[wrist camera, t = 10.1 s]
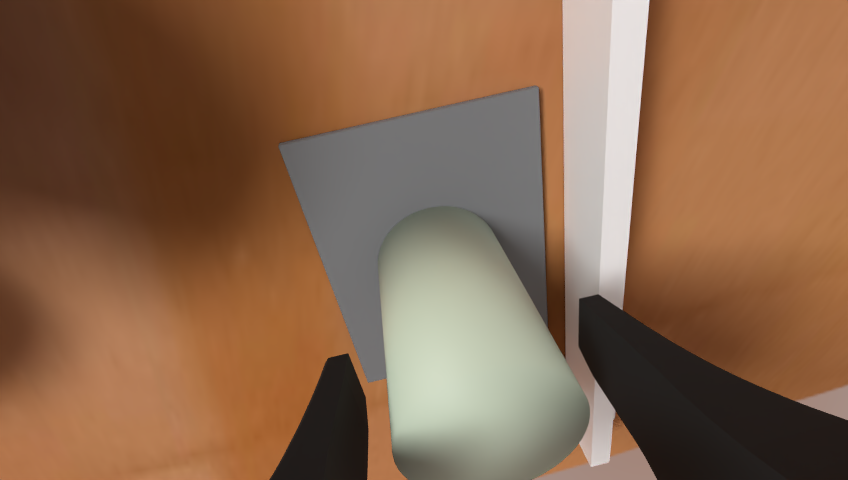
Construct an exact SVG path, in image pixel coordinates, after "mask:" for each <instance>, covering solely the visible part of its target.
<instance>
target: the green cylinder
mask: <svg viewBox="0 0 848 480" xmlns="http://www.w3.org/2000/svg"><path fill="white" fill-rule="evenodd" d="M378 274H379V287H380V299H381V312H382V325H383V338H384V351H385V364H386V376H387V389H388V402H389V415H390V428H391V441H392V453H393V458H394V462H395V464H396V466H397V468H398V469H399V471H400V472H401V473H402V474H403V475H404V476H405V477H406V478H407V479H408V480H532V479H534V478H536V477H538V476H540V475H542V474H544V473H546V472H547V471H549V470H550V469H552V468H553V467H555V466H556V465H557V464H559V463H560V462H561V461H563V460H564V459H565V458H566V457H567V456H568V455H569V454H570V453H571V452H572V451H573V450H574V449H575V448H576V447H577V445H578V444H579V442H580V441H581V440H582V438H583V436H584V434H585V432H586V430H587V427H588V424H589V419H590V406H589V402H588V399H587V397H586V395H585V393H584V391H583V390H582V388H581V386H580V384H579V383H578V381H577V379H576V377H575V376H574V374H573V372H572V370H571V369H570V367H569V365H568V363H567V362H566V360H565V358H564V356H563V354H562V353H561V351H560V349H559V347H558V346H557V344H556V342H555V340H554V339H553V337H552V335H551V333H550V332H549V330H548V328H547V326H546V324H545V323H544V321H543V319H542V317H541V316H540V314H539V312H538V310H537V309H536V307H535V305H534V303H533V302H532V300H531V298H530V296H529V295H528V293H527V291H526V289H525V287H524V286H523V284H522V282H521V280H520V279H519V277H518V275H517V273H516V272H515V270H514V268H513V266H512V265H511V263H510V261H509V259H508V258H507V256H506V254H505V252H504V250H503V249H502V247H501V245H500V243H499V242H498V240H497V238H496V236H495V235H494V233H493V231H492V229H491V228H490V227H489V225H488V224H487V223H486V222H485V221H484V220H483V219H482V218H480V217H479V216H477V215H476V214H474V213H472V212H470V211H468V210H465V209H462V208H457V207H450V206H439V207H431V208H427V209H423V210H420V211H417V212H415V213H413V214H411V215H409V216H407V217H406V218H404V219H403V220H401V221H400V222H399V223H397V224H396V225H395V226H394V227H393V228H392V229H391V231H390V232H389V233H388V234H387V236H386V237H385V239H384V241H383V243H382V245H381V248H380V251H379V255H378Z"/></svg>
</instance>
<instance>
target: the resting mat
mask: <svg viewBox="0 0 848 480" xmlns="http://www.w3.org/2000/svg"><path fill="white" fill-rule="evenodd" d="M278 147H279V149H280V152H281V155H282V157H283V160H284V163H285V165H286V168H287V170H288V173H289V176H290V178H291V181H292V184H293V186H294V189H295V191H296V194H297V197H298V199H299V202H300V205H301V207H302V210H303V212H304V215H305V218H306V220H307V223H308V226H309V228H310V231H311V234H312V236H313V239H314V241H315V244H316V247H317V249H318V252H319V255H320V257H321V260H322V262H323V265H324V268H325V270H326V273H327V276H328V278H329V281H330V283H331V286H332V289H333V291H334V294H335V297H336V299H337V302H338V305H339V307H340V310H341V312H342V315H343V318H344V320H345V323H346V326H347V328H348V331H349V333H350V336H351V339H352V341H353V344H354V347H355V349H356V352H357V355H358V357H359V360H360V362H361V365H362V368H363V370H364V373H365V376H366V378H367V381H368V383H369V382H373V381H377V380H381V379H386V378H387V376H386V364H385V351H384V338H383V325H382V312H381V299H380V287H379V274H378V255H379V251H380V248H381V245H382V243H383V241H384V239H385V237H386V236H387V234H388V233H389V232H390V231H391V229H392V228H393V227H394V226H395V225H396V224H397V223H399V222H400V221H401V220H403V219H404V218H406V217H407V216H409V215H411V214H413V213H415V212H417V211H420V210H423V209H427V208H431V207H439V206H450V207H457V208H462V209H465V210H468V211H470V212H472V213H474V214H476V215H477V216H479V217H480V218H482V219H483V220H484V221H485V222H486V223H487V224H488V225H489V227H490V228H491V229H492V231H493V233H494V235H495V236H496V238H497V240H498V242H499V243H500V245H501V247H502V249H503V250H504V252H505V254H506V256H507V258H508V259H509V261H510V263H511V265H512V266H513V268H514V270H515V272H516V273H517V275H518V277H519V279H520V280H521V282H522V284H523V286H524V287H525V289H526V291H527V293H528V295H529V296H530V298H531V300H532V302H533V303H534V305H535V307H536V309H537V310H538V312H539V314H540V316H541V317H542V319H543V321H544V323H545V324H546V326H547V328H548V319H547V293H546V266H545V240H544V214H543V188H542V162H541V136H540V109H539V87H537V86H531V87H527V88H522V89H518V90H513V91H509V92H505V93H500V94H496V95H491V96H487V97H482V98H478V99H474V100H469V101H465V102H460V103H456V104H451V105H447V106H442V107H438V108H434V109H429V110H425V111H420V112H416V113H411V114H407V115H403V116H398V117H394V118H389V119H385V120H380V121H376V122H372V123H367V124H363V125H358V126H354V127H349V128H345V129H340V130H336V131H332V132H327V133H323V134H318V135H314V136H309V137H305V138H301V139H296V140H292V141H287V142H283V143H279V145H278Z"/></svg>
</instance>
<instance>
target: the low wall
mask: <svg viewBox="0 0 848 480" xmlns="http://www.w3.org/2000/svg"><path fill="white" fill-rule="evenodd" d="M648 11H649V0H563V103H564V223H565V344H566V362H567V363H568V365H569V367H570V369H571V370H572V372H573V374H574V376H575V377H576V379H577V381H578V383H579V384H580V386H581V388H582V390H583V391H584V393H585V395H586V397H587V399H588V402H589V406H590V419H589V424H588V427H587V430H586V432H585V434H584V436H583V438H582V440H581V441H580V442H579V444H580V446H581V448H582V450H583V452H584V454H585V456H586V458H587V460H588V462H589V464H590V466H591V467H592V466H596V465H600V464H604V463H608V462H609V460H610V450H611V438H612V426H613V419H615V409H614V408H613V406H612V405H611V403H610V402H609V400H608V398H607V397H606V395H605V394H604V392H603V391H602V389H601V388H600V386H599V385H598V383H597V381H596V380H595V378H594V377H593V375H592V373H591V371H590V369H589V367H588V365H587V363H586V361H585V359H584V357H583V355H582V353H581V351H580V349H579V347H578V333H579V299H580V298H584V297H588V296H593V295H597V294H599V295H600V296H602V297H603V298H605V299H606V300H608V301H609V302H611V303H612V304H614V305H615V306H617V307H618V308H620V309H621V310H623V300H624V288H625V276H626V265H627V253H628V242H629V230H630V219H631V207H632V196H633V184H634V173H635V161H636V150H637V138H638V126H639V115H640V103H641V92H642V80H643V69H644V57H645V46H646V34H647V23H648Z"/></svg>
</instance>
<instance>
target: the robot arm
mask: <svg viewBox="0 0 848 480" xmlns="http://www.w3.org/2000/svg"><path fill="white" fill-rule="evenodd" d="M578 347H579V349H580V351H581V353H582V355H583V357H584V359H585V361H586V363H587V365H588V367H589V369H590V371H591V373H592V375H593V377H594V378H595V380H596V381H597V383H598V385H599V386H600V388H601V389H602V391H603V392H604V394H605V395H606V397H607V398H608V400H609V402H610V403H611V405H612V406H613V408H614V409H615V411H616V412H617V414H618V415H619V417H620V418H621V420H622V421H623V423H624V424H625V426H626V427H627V429H628V430H629V432H630V433H631V435H632V436H633V438H634V439H635V441H636V443H637V444H638V446H639V448H640V449H641V451H642V452H643V454H644V456H645V457H646V459H647V461H648V463H649V465H650V467H651V469H652V471H653V472H654V474H655V476H656V478H657V480H848V420H845V419H842V418H840V417H837V416H834V415H831V414H828V413H825V412H823V411H820V410H817V409H814V408H811V407H809V406H806V405H803V404H801V403H798V402H796V401H793V400H791V399H788V398H786V397H783V396H781V395H778V394H776V393H774V392H771V391H769V390H766V389H764V388H762V387H759V386H757V385H755V384H752V383H750V382H748V381H746V380H744V379H741V378H739V377H737V376H735V375H733V374H731V373H729V372H727V371H725V370H723V369H721V368H719V367H717V366H715V365H713V364H711V363H709V362H707V361H705V360H703V359H701V358H699V357H698V356H696V355H694V354H692V353H690V352H689V351H687V350H685V349H683V348H681V347H680V346H678V345H676V344H675V343H673V342H671V341H670V340H668V339H666V338H665V337H663V336H661V335H660V334H658V333H657V332H655V331H653V330H652V329H650V328H649V327H647V326H646V325H644V324H642V323H641V322H639V321H638V320H636V319H635V318H633V317H632V316H630V315H629V314H627V313H626V312H624V311H623V310H621V309H620V308H618V307H617V306H615V305H614V304H612V303H611V302H609V301H608V300H606V299H605V298H603V297H602V296H600V295H599V294H597V295H593V296H588V297H584V298H580V299H579V333H578ZM367 468H368V419H367V408H366V397H365V395H364V392H363V389H362V387H361V384H360V382H359V379H358V377H357V374H356V372H355V369H354V367H353V364H352V362H351V359H350V357H349V354H344V355H339V356H335V357H331V358H328V359H327V361H326V363H325V366H324V368H323V371H322V373H321V376H320V379H319V381H318V384H317V386H316V389H315V391H314V393H313V396H312V398H311V400H310V403H309V405H308V407H307V409H306V411H305V414H304V416H303V418H302V420H301V422H300V424H299V426H298V429H297V431H296V432H295V434H294V436H293V438H292V440H291V442H290V444H289V446H288V448H287V450H286V452H285V454H284V456H283V457H282V459H281V461H280V463H279V465H278V466H277V468H276V470H275V472H274V473H273V475H272V477H271V478H270V480H367Z"/></svg>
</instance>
